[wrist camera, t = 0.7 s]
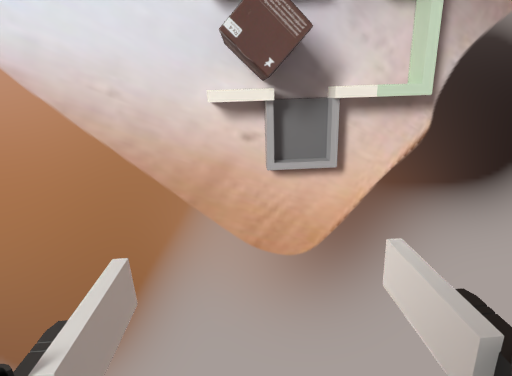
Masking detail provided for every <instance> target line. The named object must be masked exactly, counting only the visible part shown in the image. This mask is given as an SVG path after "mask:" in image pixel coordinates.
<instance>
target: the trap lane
mask: <svg viewBox="0 0 512 376" xmlns="http://www.w3.org/2000/svg"><path fill="white" fill-rule="evenodd" d="M443 1H444V0H416V9H415V18H414V28H413V38H412V48H411V57H410V67H409V77H408V84H387V85H357V86H331V87H328V98H303V99H274V88H267V89H237V90H207V101H208V102H237V101H265V141H266V168H267V170H286V169H309V168H331V167H337V151H338V128H339V105H340V98H352V97H381V96H410V95H432V89H433V81H434V73H435V65H436V57H437V49H438V41H439V33H440V25H441V17H442V9H443Z"/></svg>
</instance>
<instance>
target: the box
mask: <svg viewBox="0 0 512 376" xmlns="http://www.w3.org/2000/svg"><path fill="white" fill-rule="evenodd" d="M312 27H313V25H312V23H311V22H310V21H309V20H308V19H307V18H306V17H305V15H304V14H303V13H302V12H301V11H300V10H299V9H298V8H297V7H296V6H295V5H294V3H293V2H292V1H291V0H242V1H241V3H240V4H239V5H238V6H237V8H236V9H235V10H234V11H233V12H232V14H231V15H230V16H229V17H228V18H227V20H226V21H225V22H224V23H223V25H222V26H221V27H220V28H219V31H220V33H221V36H222V38H223V41H224V43H225V45H226V46H227V47H228V48H229V49H230V50H232V51H233V52H234V53H235V54H236V55H237V56H238V57H239V59H241V60H242V61H243V62H244V63H245V64H246V65H247V66H248V67H249V68H250V69H251V70H252V71H253V72H254V73H255V74H256V75H257V76H258V77H259V78H260V79H261V80H265V79H266V78H269V77H270V76H271V75H272V73H273V72H274V71H275V70H276V69H277V68H278V67H279V66H280V64H281V63H282V62H283V61H284V60H285V59H286V58H287V57H288V55H289V54H290V53H291V52H292V51H293V50H294V48H295V47H296V46H297V45H298V44H299V42H300V41H301V40H302V39H303V38H304V37H305V35H306V34H307V33H308V32H309V31H310V30H311V28H312Z"/></svg>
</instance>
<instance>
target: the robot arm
mask: <svg viewBox="0 0 512 376" xmlns="http://www.w3.org/2000/svg"><path fill="white" fill-rule="evenodd" d="M383 286H384V287H385V289H386V290H387V292H388V293H389V294H390V296H391V297H392V299H393V300H394V301H395V303H396V304H397V306H398V307H399V309H400V310H401V311H402V313H403V314H404V315H405V317H406V318H407V320H408V321H409V323H410V324H411V325H412V327H413V328H414V330H415V331H416V332H417V334H418V335H419V336H420V338H421V339H422V341H423V342H424V344H425V345H426V346H427V348H428V349H429V351H430V352H431V353H432V355H433V356H434V357H435V359H436V360H437V362H438V363H439V364H440V366H441V367H442V369H443V370H444V371H445V373H446V374H447V376H512V327H511V326H510V325H509V324H508V323H507V322H505V321H504V320H503V319H502V318H501V317H500V316H499V315H498V314H495V312H494V311H493V310H492V309H491V308H490V307H487V305H486V304H485V303H484V302H483V301H482V300H481V299H480V298H478V297H477V296H476V295H474V294H472V293H470V292H469V291H467V290H465V289H454V288H453V287H452V286H451V285H450V284H449V283H448V282H447V281H446V280H445V279H444V278H443V277H441V276H440V274H438V273H437V272H436V271H435V270H434V269H433V268H432V267H431V266H430V265H429V264H428V263H427V262H426V261H425V260H424V259H423V258H422V257H420V256H419V255H418V254H417V253H416V252H415V251H414V250H413V249H412V248H411V247H410V246H409V245H408V244H407V243H406V242H405V241H404V240H403V239H402V238H397V239H387V241H386V252H385V264H384V276H383ZM136 306H137V299H136V294H135V289H134V285H133V280H132V275H131V271H130V265H129V261H128V258H123V259H112V261H111V262H110V264H109V265H108V266H107V268H106V269H105V271H104V272H103V273H102V275H101V276H100V277H99V279H98V280H97V281H96V283H95V284H94V285H93V287H92V288H91V290H90V291H89V292H88V294H87V295H86V297H85V298H84V299H83V301H82V302H81V303H80V305H79V306H78V308H77V309H76V310H75V312H74V313H73V314H72V316H71V317H70V319H69V320H68V321H58V322H57V323H56V324H54V325H53V326H52V327H50V328H49V329H48V330H47V331H46V332H45V333H44V334H43V335H42V337H41V338H40V339H39V340H38V342H37V344H35V346H34V347H33V348H32V349H31V351H30V353H28V355H27V356H26V357H25V358H24V360H23V361H22V362H21V363H20V365H19V366H18V367H17V368H16V370H15V371H14V372H13V371H12V369H11V367H10V366H9V365H6V364H0V376H104V375H105V373H106V371H107V369H108V367H109V364H110V362H111V360H112V358H113V356H114V354H115V351H116V349H117V347H118V345H119V343H120V341H121V338H122V336H123V334H124V332H125V330H126V328H127V326H128V323H129V321H130V319H131V317H132V315H133V313H134V311H135V308H136Z"/></svg>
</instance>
